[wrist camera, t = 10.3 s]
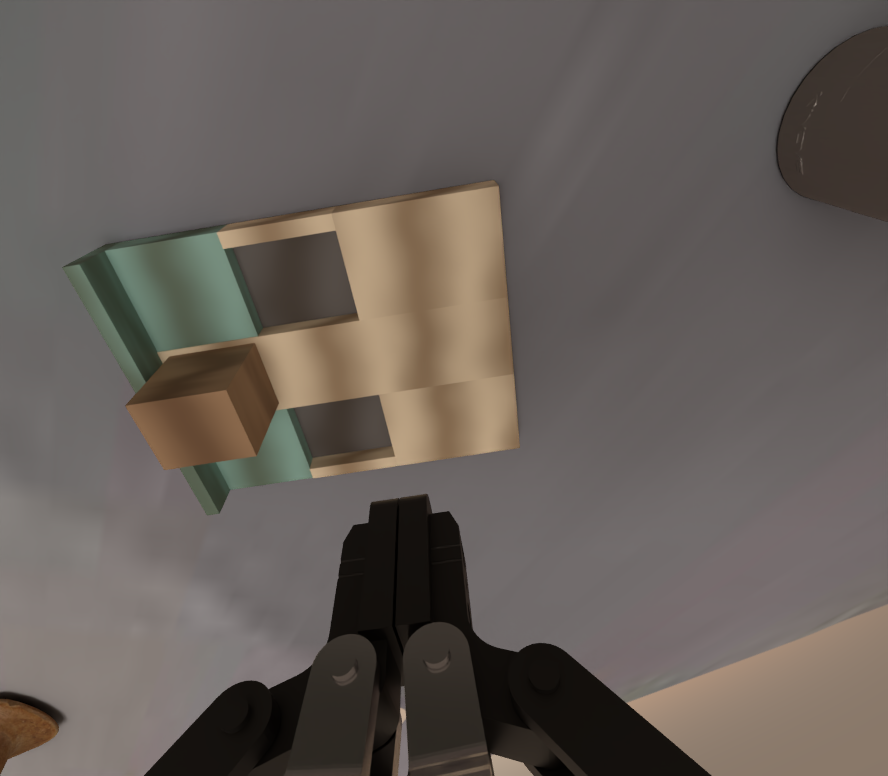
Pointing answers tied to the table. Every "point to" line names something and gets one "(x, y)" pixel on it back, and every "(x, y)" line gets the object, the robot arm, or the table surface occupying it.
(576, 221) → the table surface
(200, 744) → the robot arm
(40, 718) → the brown top hat
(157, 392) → the walnut block
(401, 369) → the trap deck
